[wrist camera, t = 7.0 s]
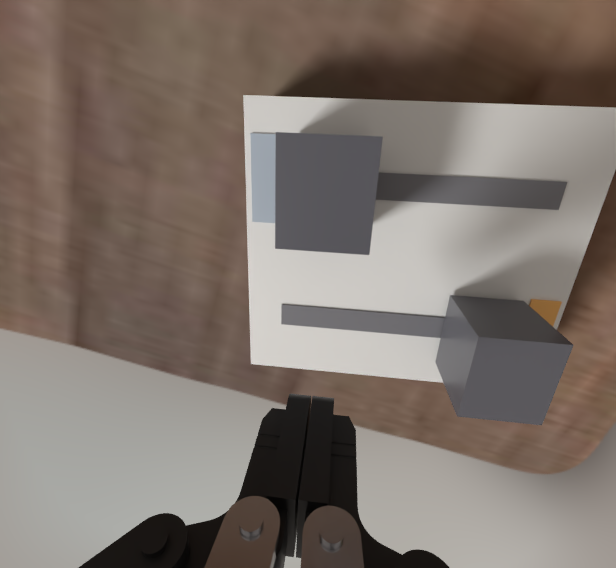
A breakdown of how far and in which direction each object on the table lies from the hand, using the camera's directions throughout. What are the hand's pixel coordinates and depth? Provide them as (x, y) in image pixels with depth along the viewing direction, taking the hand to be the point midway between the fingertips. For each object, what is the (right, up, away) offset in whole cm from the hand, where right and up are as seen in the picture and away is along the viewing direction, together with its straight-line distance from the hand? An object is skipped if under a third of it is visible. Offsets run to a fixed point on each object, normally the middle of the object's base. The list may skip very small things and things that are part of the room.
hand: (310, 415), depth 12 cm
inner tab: (+1, +9, +4) cm, 10 cm away
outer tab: (+9, +2, +6) cm, 11 cm away
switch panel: (+5, +7, +9) cm, 13 cm away
